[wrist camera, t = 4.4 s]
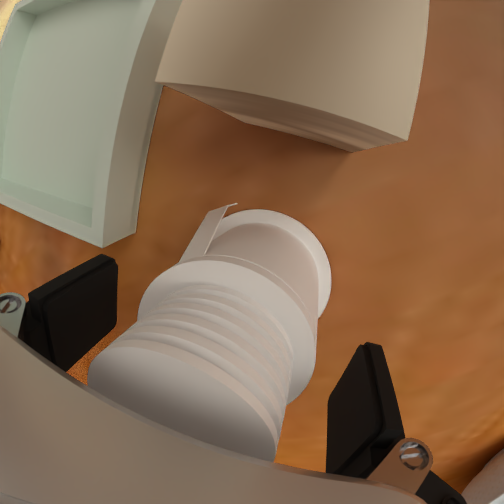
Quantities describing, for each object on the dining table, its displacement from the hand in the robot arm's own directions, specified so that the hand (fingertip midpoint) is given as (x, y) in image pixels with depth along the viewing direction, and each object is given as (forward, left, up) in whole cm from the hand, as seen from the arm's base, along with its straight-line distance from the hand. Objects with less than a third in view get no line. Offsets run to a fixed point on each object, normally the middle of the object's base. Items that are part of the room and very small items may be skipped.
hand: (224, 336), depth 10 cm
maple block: (0, -10, -5) cm, 11 cm away
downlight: (0, 0, -5) cm, 5 cm away
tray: (+15, -8, -5) cm, 18 cm away
